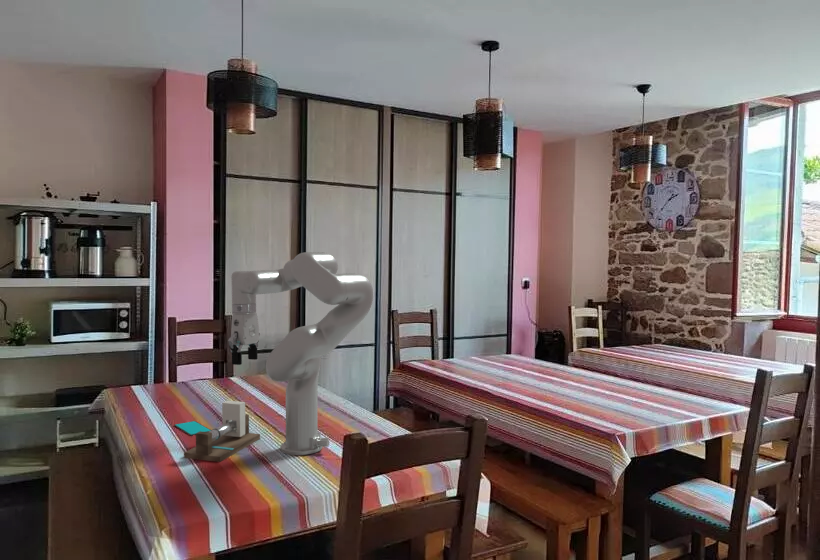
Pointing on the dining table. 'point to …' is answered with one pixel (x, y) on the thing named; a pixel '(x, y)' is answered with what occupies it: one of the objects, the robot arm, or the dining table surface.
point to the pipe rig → (221, 442)
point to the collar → (234, 416)
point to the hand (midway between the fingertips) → (245, 361)
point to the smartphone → (192, 427)
